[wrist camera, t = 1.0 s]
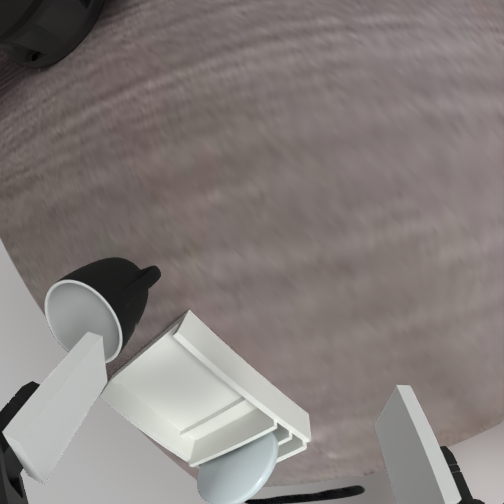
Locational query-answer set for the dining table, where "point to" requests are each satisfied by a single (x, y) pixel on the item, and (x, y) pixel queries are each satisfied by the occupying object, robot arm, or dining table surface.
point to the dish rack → (202, 397)
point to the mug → (99, 303)
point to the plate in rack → (238, 471)
